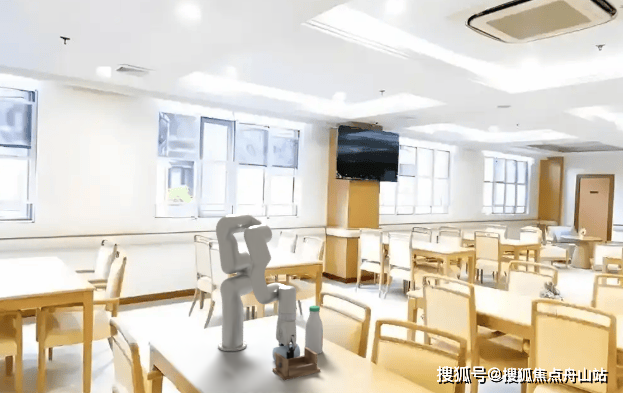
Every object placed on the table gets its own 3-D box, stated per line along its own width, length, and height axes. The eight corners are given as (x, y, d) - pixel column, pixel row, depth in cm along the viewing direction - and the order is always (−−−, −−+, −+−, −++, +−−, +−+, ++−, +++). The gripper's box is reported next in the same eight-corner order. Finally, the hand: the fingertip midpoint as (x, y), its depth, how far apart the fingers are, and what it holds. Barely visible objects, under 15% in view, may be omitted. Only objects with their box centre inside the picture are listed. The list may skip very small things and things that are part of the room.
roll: (278, 365, 178) (278, 350, 178) (271, 359, 183) (272, 345, 183) (300, 359, 183) (300, 345, 183) (293, 354, 188) (293, 341, 188)
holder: (272, 370, 172) (272, 353, 172) (307, 362, 180) (307, 346, 180) (284, 380, 163) (284, 362, 163) (320, 371, 172) (320, 354, 172)
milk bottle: (320, 355, 188) (321, 309, 188) (303, 353, 190) (304, 308, 189) (323, 349, 196) (324, 305, 195) (307, 347, 197) (307, 303, 197)
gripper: (269, 311, 188) (269, 353, 188) (289, 322, 173) (288, 367, 174) (284, 309, 192) (284, 349, 192) (305, 319, 177) (304, 363, 178)
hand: (286, 357), depth 183 cm, fingers closed on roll, 6 cm apart
